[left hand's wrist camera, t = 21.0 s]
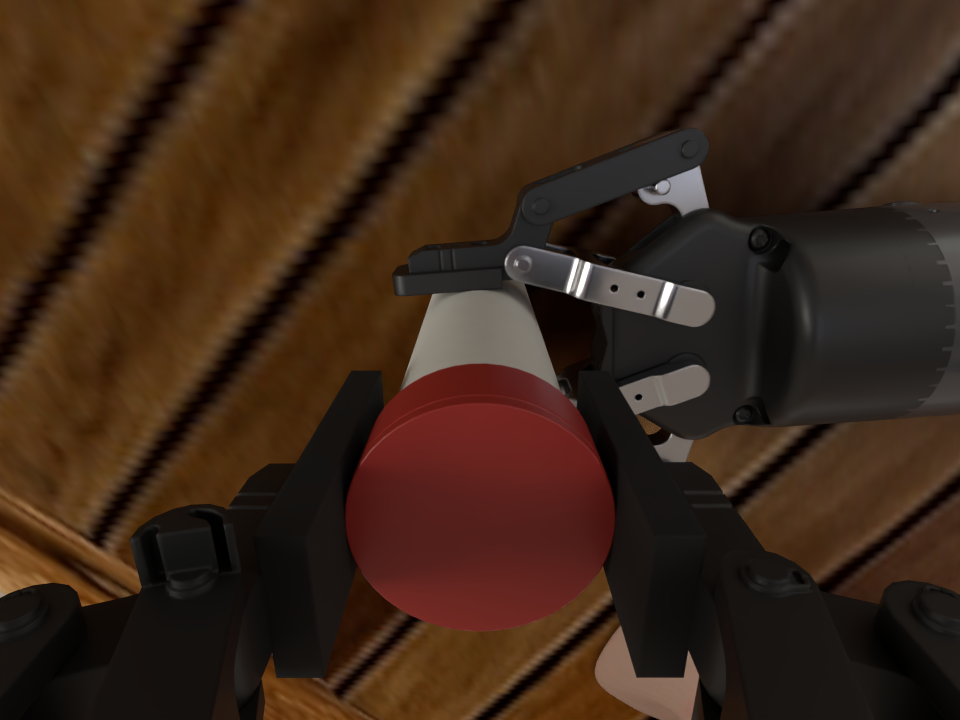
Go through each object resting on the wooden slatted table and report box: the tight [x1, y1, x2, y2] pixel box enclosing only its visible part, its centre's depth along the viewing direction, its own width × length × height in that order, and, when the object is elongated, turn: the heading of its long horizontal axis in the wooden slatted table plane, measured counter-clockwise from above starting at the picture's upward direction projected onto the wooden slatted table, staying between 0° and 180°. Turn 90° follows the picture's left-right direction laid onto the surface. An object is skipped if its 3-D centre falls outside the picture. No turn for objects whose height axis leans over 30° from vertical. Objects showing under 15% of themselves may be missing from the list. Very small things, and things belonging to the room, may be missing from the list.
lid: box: [345, 363, 616, 631], centre depth 11 cm, size 5×5×2 cm
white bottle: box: [400, 280, 561, 392], centre depth 19 cm, size 4×4×16 cm
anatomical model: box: [595, 625, 699, 720], centre depth 31 cm, size 13×4×12 cm
